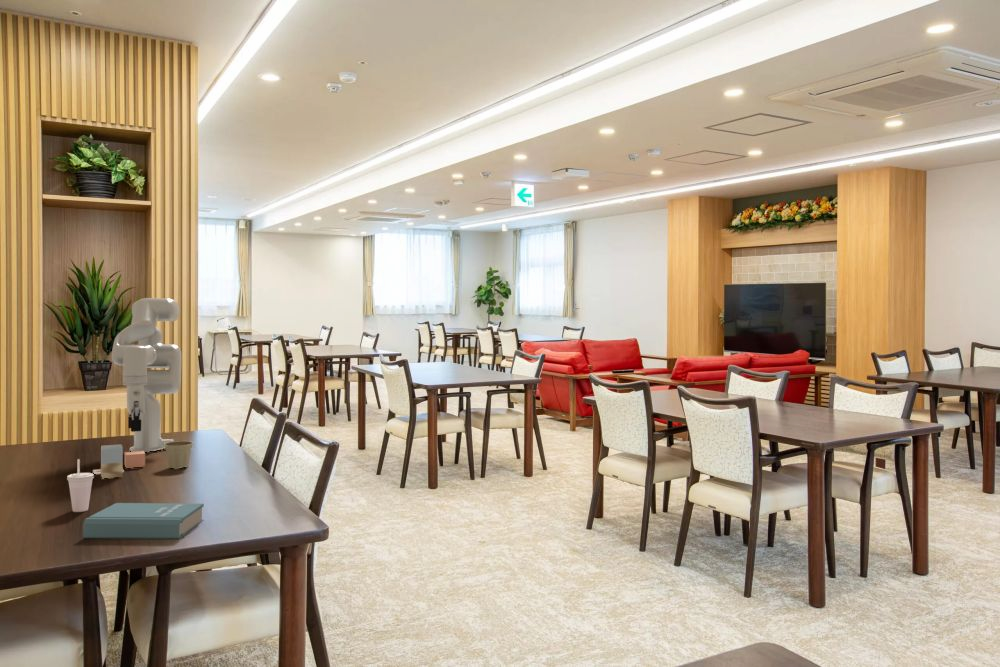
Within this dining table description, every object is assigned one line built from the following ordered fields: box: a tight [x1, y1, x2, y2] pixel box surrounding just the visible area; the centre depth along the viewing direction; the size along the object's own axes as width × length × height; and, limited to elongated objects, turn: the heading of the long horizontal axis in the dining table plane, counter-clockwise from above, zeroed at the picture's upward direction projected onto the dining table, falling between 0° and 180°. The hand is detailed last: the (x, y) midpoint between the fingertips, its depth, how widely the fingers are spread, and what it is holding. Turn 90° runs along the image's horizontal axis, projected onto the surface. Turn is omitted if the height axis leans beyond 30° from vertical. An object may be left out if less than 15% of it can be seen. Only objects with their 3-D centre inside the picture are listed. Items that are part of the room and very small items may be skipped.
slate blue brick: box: [100, 444, 124, 464], centre depth 242 cm, size 6×6×5 cm
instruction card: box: [92, 468, 125, 475], centre depth 249 cm, size 9×7×1 cm
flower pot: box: [164, 440, 194, 469], centre depth 257 cm, size 9×9×9 cm
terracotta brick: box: [123, 451, 146, 469], centre depth 258 cm, size 6×6×5 cm
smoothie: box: [66, 458, 95, 513], centre depth 200 cm, size 6×6×14 cm
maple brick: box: [100, 461, 124, 480], centre depth 242 cm, size 6×6×5 cm
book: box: [82, 502, 205, 540], centre depth 184 cm, size 23×16×5 cm
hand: (134, 429), depth 257 cm, fingers open, 9 cm apart
